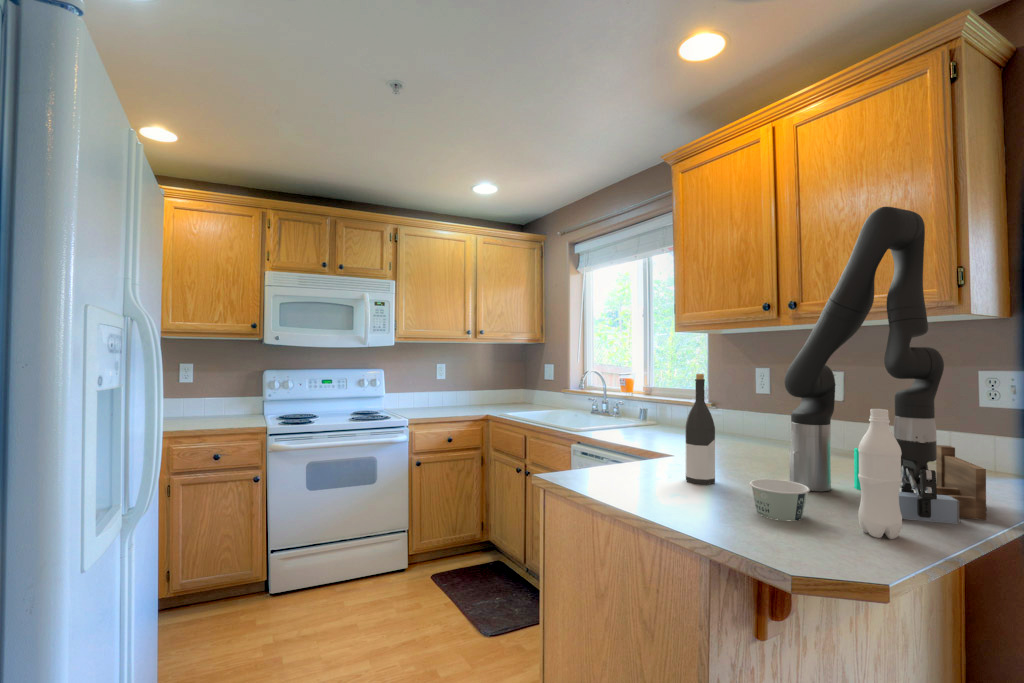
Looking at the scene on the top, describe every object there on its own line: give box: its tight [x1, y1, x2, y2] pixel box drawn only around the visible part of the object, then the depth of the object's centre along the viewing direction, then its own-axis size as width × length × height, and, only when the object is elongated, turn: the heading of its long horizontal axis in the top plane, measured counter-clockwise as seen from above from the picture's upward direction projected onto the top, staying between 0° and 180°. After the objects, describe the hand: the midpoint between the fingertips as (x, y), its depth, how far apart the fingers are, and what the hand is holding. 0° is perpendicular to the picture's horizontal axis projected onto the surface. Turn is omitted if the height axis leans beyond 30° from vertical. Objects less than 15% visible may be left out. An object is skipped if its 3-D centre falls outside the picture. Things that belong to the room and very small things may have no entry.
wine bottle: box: [685, 373, 716, 486], centre depth 148 cm, size 8×8×30 cm
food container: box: [749, 478, 811, 521], centre depth 119 cm, size 12×12×6 cm
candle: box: [853, 447, 861, 491], centre depth 140 cm, size 6×6×12 cm
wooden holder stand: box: [935, 444, 987, 521], centre depth 125 cm, size 7×18×13 cm, turn 162°
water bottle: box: [857, 408, 903, 540], centre depth 106 cm, size 7×7×25 cm
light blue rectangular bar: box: [899, 491, 960, 525], centre depth 117 cm, size 14×4×5 cm, turn 71°
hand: (915, 511), depth 117 cm, fingers open, 8 cm apart
